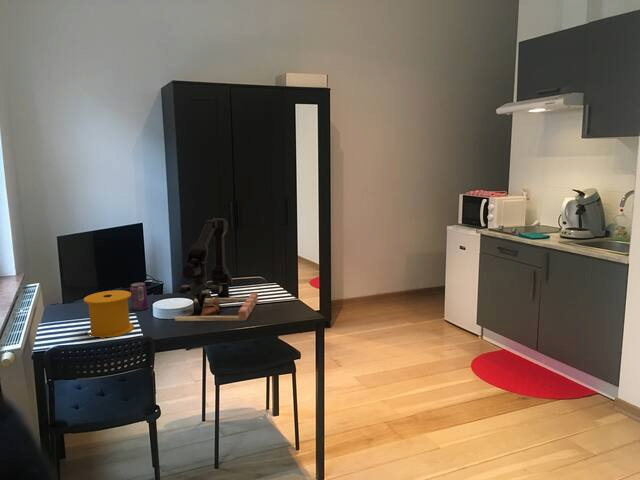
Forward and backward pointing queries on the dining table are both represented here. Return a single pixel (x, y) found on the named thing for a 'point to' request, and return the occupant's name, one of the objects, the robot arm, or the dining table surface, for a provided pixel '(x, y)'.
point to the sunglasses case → (211, 308)
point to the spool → (109, 313)
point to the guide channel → (242, 316)
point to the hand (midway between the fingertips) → (201, 307)
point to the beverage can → (138, 296)
